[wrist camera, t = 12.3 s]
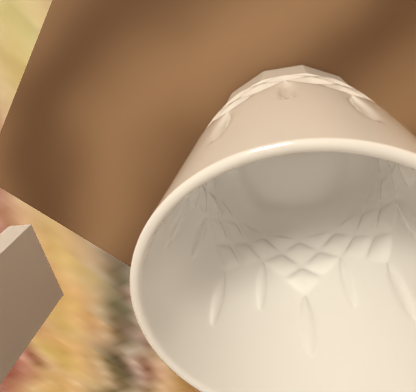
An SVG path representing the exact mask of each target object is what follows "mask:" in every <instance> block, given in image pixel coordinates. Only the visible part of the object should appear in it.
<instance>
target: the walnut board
mask: <svg viewBox="0 0 416 392" xmlns="http://www.w3.org/2000/svg"><path fill="white" fill-rule="evenodd" d="M298 65H305V66H308V67H311V68H314V69H318V70H321V71H324V72H327V73H330V74H334V75H337V76H339V77H341V78H342V79H343V80H344V81H345V82H346V83H347V84H348V85H349V86H351V87H353V88H355V89H357V90H359V91H360V92H362V93H363V94H365V95H366V96H367V97H369V98H370V99H371V100H373V101H374V102H375V103H376V104H378V105H379V106H381V107H382V108H383V109H385V110H386V111H387V112H388V113H389V114H391V115H392V116H393V117H394V118H395V119H396V120H397V121H399V122H400V123H401V124H402V125H403V126H404V127H406V128H407V129H408V130H409V131H410V132H411V133H412V134H414V135H415V136H416V0H53V1H52V3H51V6H50V8H49V11H48V13H47V16H46V18H45V21H44V23H43V26H42V28H41V31H40V34H39V36H38V39H37V41H36V44H35V46H34V49H33V51H32V54H31V56H30V59H29V61H28V64H27V66H26V69H25V72H24V74H23V77H22V79H21V82H20V84H19V87H18V89H17V92H16V94H15V97H14V99H13V102H12V104H11V107H10V110H9V112H8V115H7V117H6V120H5V122H4V125H3V127H2V130H1V132H0V188H2V189H4V190H5V191H7V192H9V193H10V194H12V195H14V196H15V197H17V198H19V199H20V200H22V201H24V202H25V203H27V204H28V205H30V206H32V207H33V208H35V209H37V210H38V211H40V212H42V213H43V214H45V215H47V216H48V217H50V218H51V219H53V220H55V221H56V222H58V223H60V224H61V225H63V226H65V227H66V228H68V229H70V230H71V231H73V232H75V233H76V234H78V235H79V236H81V237H83V238H84V239H86V240H88V241H89V242H91V243H93V244H94V245H96V246H98V247H99V248H101V249H103V250H104V251H106V252H107V253H109V254H111V255H112V256H114V257H116V258H117V259H119V260H121V261H122V262H124V263H126V264H127V265H129V266H130V267H131V262H132V257H133V253H134V250H135V247H136V244H137V241H138V239H139V236H140V234H141V232H142V230H143V228H144V226H145V225H146V223H147V221H148V220H149V218H150V217H151V215H152V213H153V212H154V210H155V209H156V207H157V205H158V204H159V202H160V201H161V199H162V198H163V196H164V194H165V193H166V191H167V190H168V188H169V186H170V185H171V183H172V182H173V180H174V178H175V177H176V175H177V173H178V172H179V170H180V169H181V167H182V165H183V164H184V162H185V160H186V159H187V157H188V156H189V154H190V152H191V151H192V149H193V147H194V146H195V144H196V143H197V141H198V139H199V138H200V136H201V134H202V133H203V132H204V130H205V129H206V128H207V126H208V125H209V124H210V122H211V121H212V119H213V118H214V116H215V115H216V114H217V113H218V112H219V111H220V110H221V109H222V108H223V107H224V105H225V104H226V102H227V101H228V99H229V97H230V95H231V94H232V93H233V92H234V91H235V90H237V89H238V88H240V87H241V86H243V85H244V84H245V83H247V82H248V81H250V80H251V79H253V78H254V77H256V76H257V75H258V74H260V73H261V72H263V71H267V70H273V69H279V68H285V67H292V66H298Z"/></svg>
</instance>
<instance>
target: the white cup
mask: <svg viewBox="0 0 416 392" xmlns="http://www.w3.org/2000/svg"><path fill="white" fill-rule="evenodd" d="M130 294H131V300H132V305H133V309H134V313H135V316H136V318H137V321H138V323H139V326H140V328H141V330H142V332H143V334H144V336H145V337H146V339H147V341H148V342H149V344H150V345H151V347H152V348H153V350H154V351H155V352H156V353H157V355H158V356H159V357H160V358H161V359H162V361H163V362H164V363H165V364H166V365H167V366H168V367H169V368H170V369H171V370H172V371H174V372H175V373H176V374H177V375H178V376H179V377H181V378H182V379H183V380H184V381H186V382H187V383H188V384H190V385H191V386H193V387H194V388H196V389H197V390H199V391H201V392H416V136H415V135H414V134H412V133H411V132H410V131H409V130H408V129H407V128H406V127H404V126H403V125H402V124H401V123H400V122H399V121H397V120H396V119H395V118H394V117H393V116H392V115H391V114H389V113H388V112H387V111H386V110H385V109H383V108H382V107H381V106H379V105H378V104H376V103H375V102H374V101H373V100H371V99H370V98H369V97H367V96H366V95H365V94H363V93H362V92H360V91H359V90H357V89H355V88H353V87H351V86H349V85H348V84H347V83H346V82H345V81H344V80H343V79H342V78H341V77H339V76H337V75H334V74H330V73H327V72H324V71H321V70H318V69H314V68H311V67H308V66H305V65H298V66H292V67H285V68H279V69H273V70H267V71H263V72H261V73H260V74H258V75H257V76H256V77H254V78H253V79H251V80H250V81H248V82H247V83H245V84H244V85H243V86H241V87H240V88H238V89H237V90H235V91H234V92H233V93H232V94H231V95H230V97H229V99H228V101H227V102H226V104H225V105H224V107H223V108H222V109H221V110H220V111H219V112H218V113H217V114H216V115H215V116H214V118H213V119H212V121H211V122H210V124H209V125H208V126H207V128H206V129H205V130H204V132H203V133H202V134H201V136H200V138H199V139H198V141H197V143H196V144H195V146H194V147H193V149H192V151H191V152H190V154H189V156H188V157H187V159H186V160H185V162H184V164H183V165H182V167H181V169H180V170H179V172H178V173H177V175H176V177H175V178H174V180H173V182H172V183H171V185H170V186H169V188H168V190H167V191H166V193H165V194H164V196H163V198H162V199H161V201H160V202H159V204H158V205H157V207H156V209H155V210H154V212H153V213H152V215H151V217H150V218H149V220H148V221H147V223H146V225H145V226H144V228H143V230H142V232H141V234H140V236H139V239H138V241H137V244H136V247H135V250H134V253H133V257H132V262H131V269H130Z"/></svg>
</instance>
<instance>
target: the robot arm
mask: <svg viewBox="0 0 416 392" xmlns="http://www.w3.org/2000/svg"><path fill="white" fill-rule="evenodd" d="M62 296H63V292H62V290H61V288H60V286H59V284H58V282H57V279H56V277H55V275H54V273H53V271H52V269H51V266H50V264H49V262H48V260H47V258H46V256H45V253H44V251H43V249H42V247H41V245H40V243H39V241H38V238H37V236H36V234H35V232H34V230H33V228H32V225H31V224H29V225H17V226H9V227H8V228H7V229H5V230H4V231H3V232H2V233H1V234H0V384H1V383H2V381H3V380H4V378H5V377H6V376H7V374H8V373H9V371H10V370H11V368H12V367H13V366H14V364H15V363H16V361H17V360H18V358H19V357H20V356H21V354H22V353H23V351H24V350H25V348H26V347H27V346H28V344H29V343H30V341H31V340H32V338H33V337H34V336H35V334H36V333H37V331H38V330H39V329H40V327H41V326H42V324H43V323H44V321H45V320H46V319H47V317H48V316H49V314H50V313H51V311H52V310H53V309H54V307H55V306H56V304H57V303H58V301H59V300H60V299H61V297H62Z"/></svg>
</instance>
